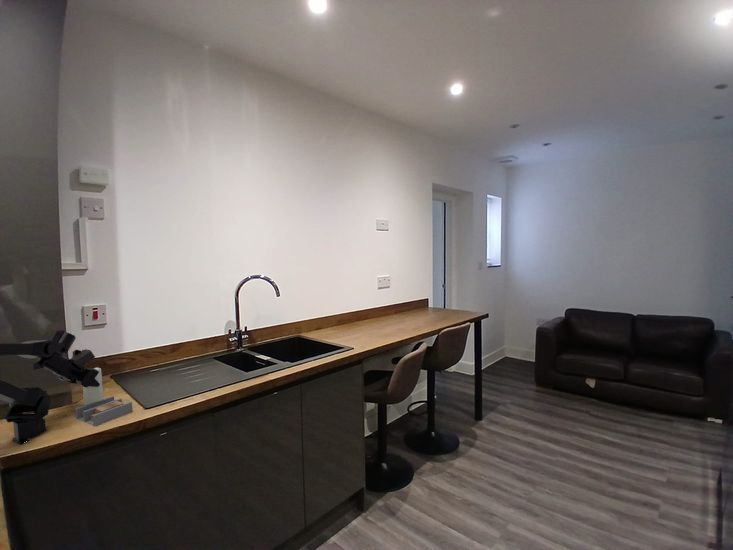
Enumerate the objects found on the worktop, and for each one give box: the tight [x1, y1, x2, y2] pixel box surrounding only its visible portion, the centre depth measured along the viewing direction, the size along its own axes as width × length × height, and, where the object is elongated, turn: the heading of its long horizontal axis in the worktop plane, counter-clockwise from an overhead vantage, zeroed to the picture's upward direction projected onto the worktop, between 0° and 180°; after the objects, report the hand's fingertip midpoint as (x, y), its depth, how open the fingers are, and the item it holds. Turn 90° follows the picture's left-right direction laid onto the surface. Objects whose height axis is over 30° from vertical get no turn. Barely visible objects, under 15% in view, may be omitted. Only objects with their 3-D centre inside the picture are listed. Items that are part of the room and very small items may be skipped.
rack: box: [74, 395, 134, 427], centre depth 129 cm, size 12×12×4 cm
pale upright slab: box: [82, 367, 104, 406], centre depth 137 cm, size 5×3×13 cm, turn 152°
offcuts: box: [90, 401, 125, 421], centre depth 128 cm, size 9×4×4 cm, turn 152°
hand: (96, 384), depth 138 cm, fingers closed on pale upright slab, 3 cm apart
